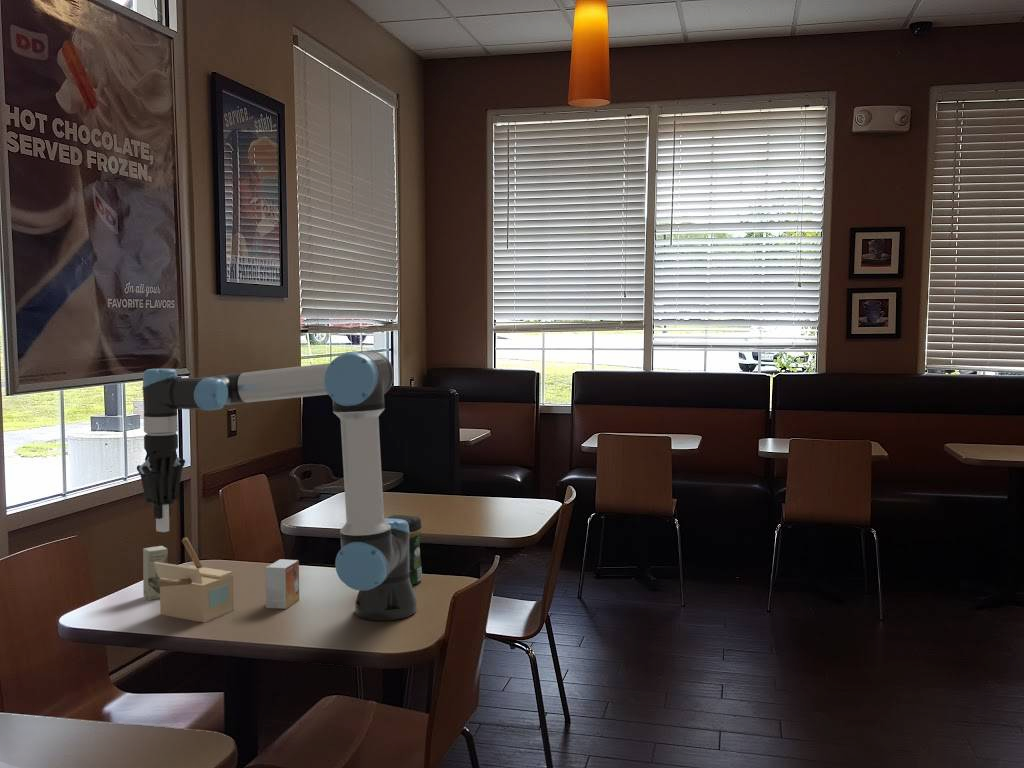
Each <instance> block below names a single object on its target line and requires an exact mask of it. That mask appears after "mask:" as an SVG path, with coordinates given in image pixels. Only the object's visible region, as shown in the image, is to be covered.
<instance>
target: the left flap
mask: <svg viewBox="0 0 1024 768" xmlns="http://www.w3.org/2000/svg"><path fill="white" fill-rule="evenodd" d="M154 565H155V568H156V572H157V575H158V577H161V578H167V579H173V580H161V581H158V582H157V586H158V587H164V586H175V585H187V584H191V583H198V584H201V583H203V582H202V579H201V576H200V572H199V569H198V568H194V567H188V566H187V565H180V564H175V563H168V564H167V563H161V562H155V563H154Z"/></svg>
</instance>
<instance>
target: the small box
mask: <svg viewBox="0 0 1024 768" xmlns="http://www.w3.org/2000/svg"><path fill="white" fill-rule="evenodd" d="M264 574H265V607H266V609H280V610H281V609H283V610H284V609H285V610H286V609H288V608H289V607H290V606H292V605H294V604H295V603H297V602H299V601H300V561H299V560H298V559H282V558H281V559H278V560H276V561H275V562H273V563H271V564H270V565H267V566H266V567H265V573H264Z"/></svg>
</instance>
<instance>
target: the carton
mask: <svg viewBox="0 0 1024 768" xmlns="http://www.w3.org/2000/svg"><path fill="white" fill-rule="evenodd" d="M200 576H201V579H202V582H203V583H201V584H198V583H191V584H187V585H175V586H164V587H160V598H159V601H160V602H159V603H160V604H159V608H160V610H159V611H160V615H161V616H167V617H172V618H176V619H183V620H189V621H194V622H198V623H207V622H209V621H211V620H214V619H216V618H218V617H221V616H224V615H225V614H228V613H230V612H233V611H234V610H235V609H234V608H235V607H234V606H235V605H234V604H235V603H234V600H235V599H234V574H233V573H232V574H231V575H228V576H226V577H223V578H215V577H209V576H202V575H200ZM161 580H173V579H167V578H160V581H161Z"/></svg>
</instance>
